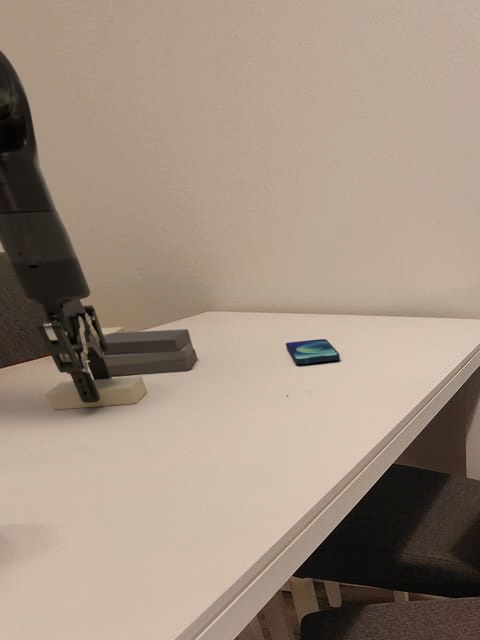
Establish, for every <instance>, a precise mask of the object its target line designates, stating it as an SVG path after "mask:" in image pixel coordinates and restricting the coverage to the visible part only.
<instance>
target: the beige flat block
mask: <svg viewBox="0 0 480 640" xmlns="http://www.w3.org/2000/svg"><path fill="white" fill-rule="evenodd" d="M93 382H94V384H95V386H96V389H97V392H98V394H99V396H100V400H99V401H98V402H91V403H85V402H83V401H82V400H81V398H80V395H79V393H78V391H77V388H76V386H75V384H74V382H73V380H71V381H70V380H69V381H61V382H60V383H58V384H57V385H56V386H54V387H53V388H51V389H50V390H48V391H47V392H46V393H45V395H46V398H47V400H48V402H49V404H50V406H51V408H52V410H53V411H55V410H70V409H71V410H72V409H83V408H95V407H96V408H97V407H110V406H123V405H136V404H138V402H139V401H140V400H141V399H142V398H143V397H144V396H145V395H146V394H147V393H148V391H147V387H146V384H145V382H144V379H143V377H142V376H126V377H112V379H97V380H94V379H93Z"/></svg>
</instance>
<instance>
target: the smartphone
mask: <svg viewBox="0 0 480 640" xmlns="http://www.w3.org/2000/svg"><path fill="white" fill-rule="evenodd" d="M285 346H286V350H287V351H288V353H289V355H290V356H291V358H292V360H293V361H294V363H295V364H296V365H308V364H316V363H322V362H331V361H338V360H341V356H340V353H339V352H338V351H337V350H336V348H335V347H334V346H333V345H332V344H331V343H330V342H329V340H328V339H326V338H320V339H309V340H299V341H290V342H289V341H288V342H286V343H285Z"/></svg>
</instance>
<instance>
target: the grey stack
mask: <svg viewBox="0 0 480 640" xmlns="http://www.w3.org/2000/svg"><path fill="white" fill-rule="evenodd" d="M104 339H105V342H106V345H107V347H108V352H104V353H105V355H106V360H104V361H105V362H106V365H107V367H108V370H109V372H110V375H111V377H117V376H120V377H121V376H132V375H133V376H134V375H147V374H163V373H174V372H188V371H189V370H190V369H191V368H192V367H193V365H194V364H195V363H196V361H197V360H198V355H197V353H196V349H195V348H194V346H193V343H192V339H191V337H190V332H189V329H188V328H184V329H167V330H165V329H164V330H147V331H145V330H144V331H127V332H126V331H125V332H124V333H110V334H108V335H106V336H104Z"/></svg>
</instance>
